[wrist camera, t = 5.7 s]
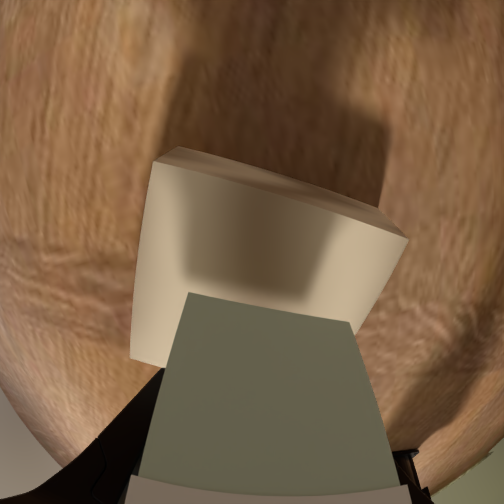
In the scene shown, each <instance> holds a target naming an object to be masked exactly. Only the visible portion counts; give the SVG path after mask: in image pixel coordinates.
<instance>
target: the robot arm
mask: <svg viewBox="0 0 504 504" xmlns="http://www.w3.org/2000/svg"><path fill="white" fill-rule="evenodd" d="M164 372H165V368H164V367H163V368H161V369H160V370H159V371H158V372H157V373H156V374H155V375H154V376H153V377H152V378H151V380H150V381H149V382H148V383H147V384H146V385H145V386H144V387H143V388H142V389H141V390H140V391H139V393H138V394H137V395H136V396H135V397H134V398H133V399H132V400H131V401H130V402H129V403H128V404H127V405H126V407H125V408H124V409H123V410H122V411H121V412H120V413H119V414H118V415H117V416H116V417H115V418H114V419H113V420H112V422H111V423H110V424H109V425H108V426H107V427H106V428H105V429H104V430H103V431H102V432H101V433H100V434H99V435H98V438H95V440H94V441H93V442H92V443H91V444H90V445H89V446H88V447H87V448H86V449H85V450H84V451H83V452H82V453H81V454H80V455H79V456H77V457H76V458H75V459H74V460H73V461H71V462H70V463H69V464H68V465H67V466H65V467H64V468H63V469H62V470H60V471H59V472H58V473H56V474H55V475H54V476H52V477H51V478H50V479H48V480H47V481H46V482H44V483H43V484H41V485H40V486H39V487H37V488H35V489H33V490H31V491H29V492H26V493H23V494H20V495H16V496H12V497H8V498H4V499H0V504H125V499H126V495H127V491H128V486H129V482H130V478H131V475H135V476H138V474H139V469H140V465H141V461H142V457H143V452H144V448H145V444H146V440H147V436H148V432H149V428H150V424H151V420H152V416H153V413H154V409H155V405H156V401H157V397H158V394H159V390H160V386H161V383H162V379H163V376H164ZM418 453H419V450H418V449H417V450H410V451H403V452H395V453H392V456H393V459H394V463H395V467H396V471H397V474H398V478H399V482H400V486H402V485H407V486H408V490H409V494H410V498H411V502H412V504H434V503H433V502H432V501H431V497H430V493H429V490H428V486H427V487H425V488H424V489H422V490H421V487H420V483H419V479H418V476H417V472H416V469H415V466H414V462H413V459H412V458H413V457H415V456H416V455H417V454H418Z"/></svg>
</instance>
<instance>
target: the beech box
mask: <svg viewBox="0 0 504 504" xmlns="http://www.w3.org/2000/svg"><path fill="white" fill-rule="evenodd" d="M408 241H409V239H408V238H407V237H406V236H405V235H404V233H403V232H402V231H401V230H400V229H399V228H398V227H397V226H396V225H395V224H394V223H393V222H392V221H391V220H390V219H389V218H388V217H387V216H386V215H385V214H383V213H382V212H381V211H380V210H379V209H378V208H376V207H374V206H371V205H368V204H366V203H363V202H360V201H358V200H355V199H352V198H350V197H347V196H344V195H341V194H339V193H336V192H333V191H330V190H327V189H324V188H321V187H318V186H315V185H312V184H309V183H306V182H303V181H300V180H297V179H294V178H291V177H288V176H285V175H282V174H278V173H275V172H272V171H269V170H265V169H262V168H259V167H255V166H252V165H248V164H245V163H241V162H238V161H234V160H231V159H227V158H223V157H220V156H216V155H212V154H208V153H204V152H200V151H197V150H193V149H188V148H184V147H180V146H177V147H175V148H174V149H172V150H170V151H169V152H167V153H165V154H164V155H162V156H161V157H159V158H157V159H156V160H154V161H153V165H152V170H151V175H150V180H149V185H148V191H147V197H146V202H145V208H144V215H143V221H142V228H141V235H140V242H139V250H138V258H137V266H136V275H135V285H134V296H133V308H132V323H131V341H130V358H132V359H135V360H138V361H141V362H145V363H148V364H152V365H155V366H159V367H162V368H163V367H164V368H166V365H167V361H168V358H169V354H170V351H171V348H172V344H173V341H174V337H175V334H176V331H177V327H178V324H179V321H180V318H181V314H182V311H183V308H184V305H185V301H186V298H187V295H188V292H191V293H196V294H201V295H205V296H210V297H215V298H219V299H224V300H229V301H234V302H239V303H244V304H249V305H254V306H259V307H265V308H270V309H275V310H281V311H286V312H292V313H298V314H304V315H309V316H315V317H321V318H328V319H334V320H340V321H347V322H349V323H350V325H351V328H352V331H353V334H354V336H355V334H356V333H357V331H358V330H359V328H360V327H361V325H362V323H363V322H364V320H365V319H366V317H367V315H368V314H369V312H370V310H371V309H372V307H373V305H374V304H375V302H376V300H377V298H378V297H379V295H380V293H381V291H382V290H383V288H384V286H385V284H386V283H387V281H388V279H389V277H390V275H391V274H392V272H393V270H394V268H395V266H396V264H397V262H398V260H399V258H400V257H401V255H402V253H403V251H404V249H405V247H406V245H407V243H408Z"/></svg>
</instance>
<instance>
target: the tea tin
mask: <svg viewBox="0 0 504 504" xmlns="http://www.w3.org/2000/svg"><path fill="white" fill-rule="evenodd" d="M125 504H412V502H411V498H410V494H409V490H408V486H407V485H402V486H400V482H399V478H398V474H397V471H396V467H395V463H394V459H393V456H392V452H391V448H390V445H389V441H388V438H387V434H386V431H385V428H384V424H383V421H382V418H381V414H380V411H379V408H378V405H377V401H376V398H375V395H374V392H373V389H372V386H371V383H370V380H369V377H368V374H367V371H366V368H365V365H364V362H363V359H362V356H361V353H360V350H359V348H358V345H357V342H356V339H355V336H354V334H353V331H352V328H351V325H350V323H349V322H347V321H340V320H334V319H328V318H321V317H315V316H309V315H304V314H298V313H292V312H286V311H281V310H275V309H270V308H265V307H259V306H254V305H249V304H244V303H239V302H234V301H229V300H224V299H219V298H215V297H210V296H205V295H201V294H196V293H191V292H188V295H187V298H186V301H185V305H184V308H183V311H182V314H181V318H180V321H179V324H178V327H177V331H176V334H175V337H174V341H173V344H172V348H171V351H170V354H169V358H168V361H167V365H166V368H165V372H164V376H163V379H162V383H161V386H160V390H159V394H158V397H157V401H156V405H155V409H154V413H153V416H152V420H151V424H150V428H149V432H148V436H147V440H146V444H145V448H144V452H143V457H142V461H141V465H140V469H139V474H138V476H135V475H131V478H130V482H129V486H128V491H127V495H126V499H125Z"/></svg>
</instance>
